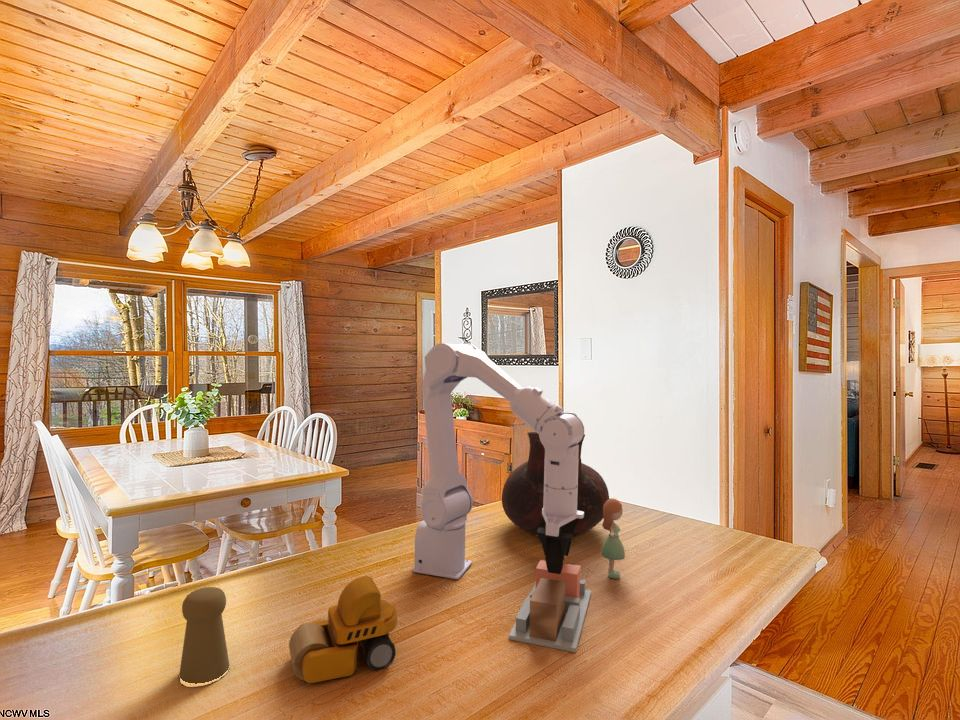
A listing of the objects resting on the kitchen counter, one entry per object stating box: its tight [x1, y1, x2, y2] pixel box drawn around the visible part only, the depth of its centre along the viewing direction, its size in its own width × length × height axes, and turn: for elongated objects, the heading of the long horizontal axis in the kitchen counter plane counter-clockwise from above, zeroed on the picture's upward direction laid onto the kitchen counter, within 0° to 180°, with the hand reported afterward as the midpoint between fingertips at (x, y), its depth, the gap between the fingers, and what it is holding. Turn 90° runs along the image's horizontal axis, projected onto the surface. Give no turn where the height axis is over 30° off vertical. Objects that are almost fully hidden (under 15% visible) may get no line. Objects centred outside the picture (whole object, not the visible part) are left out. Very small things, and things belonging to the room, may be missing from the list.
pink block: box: [535, 559, 581, 598], centre depth 91 cm, size 7×4×6 cm, turn 72°
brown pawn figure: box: [178, 586, 230, 684], centre depth 70 cm, size 6×6×11 cm
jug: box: [501, 431, 610, 538], centre depth 125 cm, size 25×25×25 cm
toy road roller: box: [288, 575, 398, 684], centre depth 74 cm, size 9×14×10 cm, turn 116°
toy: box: [600, 497, 626, 579], centre depth 101 cm, size 13×4×15 cm, turn 168°
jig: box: [508, 578, 592, 653], centre depth 87 cm, size 10×19×3 cm, turn 161°
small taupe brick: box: [529, 578, 566, 642], centre depth 82 cm, size 4×8×6 cm, turn 161°
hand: (558, 563), depth 91 cm, fingers open, 7 cm apart
